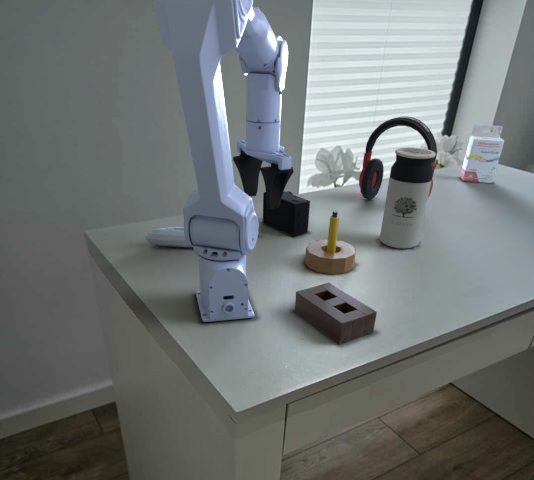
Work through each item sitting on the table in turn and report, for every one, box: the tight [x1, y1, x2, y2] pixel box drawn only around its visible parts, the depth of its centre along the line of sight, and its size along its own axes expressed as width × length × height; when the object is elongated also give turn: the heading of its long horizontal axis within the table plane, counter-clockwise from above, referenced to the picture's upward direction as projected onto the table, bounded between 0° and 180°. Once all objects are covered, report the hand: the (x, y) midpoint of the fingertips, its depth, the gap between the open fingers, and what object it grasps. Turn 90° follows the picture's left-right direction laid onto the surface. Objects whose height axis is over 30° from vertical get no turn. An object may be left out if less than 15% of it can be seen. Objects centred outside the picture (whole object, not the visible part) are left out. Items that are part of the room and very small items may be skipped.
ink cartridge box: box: [459, 124, 505, 184], centre depth 142 cm, size 9×5×15 cm, turn 82°
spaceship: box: [144, 226, 260, 248], centre depth 98 cm, size 23×7×4 cm, turn 107°
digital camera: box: [262, 190, 311, 238], centre depth 106 cm, size 10×5×7 cm, turn 40°
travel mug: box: [379, 146, 437, 249], centre depth 98 cm, size 8×8×18 cm
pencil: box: [327, 210, 340, 253], centre depth 90 cm, size 2×2×10 cm
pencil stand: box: [294, 282, 378, 345], centre depth 74 cm, size 6×11×4 cm, turn 33°
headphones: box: [358, 115, 438, 200], centre depth 119 cm, size 18×10×20 cm, turn 58°
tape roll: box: [304, 239, 357, 275], centre depth 92 cm, size 9×9×3 cm
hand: (261, 201), depth 89 cm, fingers open, 7 cm apart
